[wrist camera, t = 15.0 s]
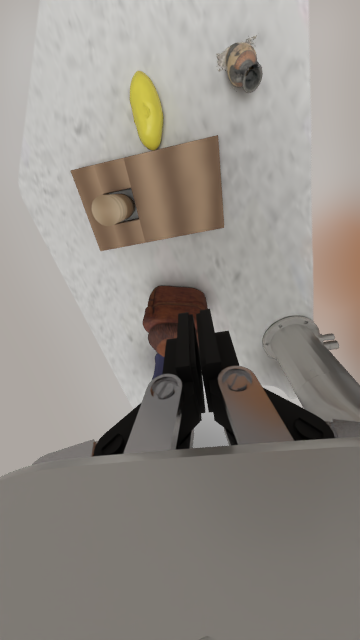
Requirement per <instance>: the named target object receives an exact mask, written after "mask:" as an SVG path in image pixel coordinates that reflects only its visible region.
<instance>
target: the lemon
mask: <svg viewBox="0 0 360 640" xmlns="http://www.w3.org/2000/svg"><path fill="white" fill-rule="evenodd" d="M130 103H131V107H132V112H133V117H134V122H135V124H136V127H137V131H138V135H139V138H140V140H141V142H142V143H143V144H144V146H145V147H147V148H148V149H150V150H156V149H157V148H158V147H159V145H160V142H161V136H162V127H163V112H162V107H161V102H160V99H159V96H158V93H157V91H156V89H155V87H154V85H153V83H152V81H151V80H150V78H149V77H148V76H147V75H146V74H145V73H143V72H142V71H137V72H136V73H135V75H134V76H133V78H132V81H131V86H130Z"/></svg>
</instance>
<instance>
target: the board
mask: <svg viewBox="0 0 360 640" xmlns="http://www.w3.org/2000/svg"><path fill="white" fill-rule="evenodd" d="M71 173H72V176H73V178H74V181H75V184H76V187H77V189H78V192H79V195H80V197H81V200H82V203H83V205H84V208H85V211H86V213H87V216H88V219H89V221H90V224H91V227H92V229H93V232H94V235H95V237H96V240H97V243H98V246H99V248H100V251H104V250H109V249H114V248H120V247H125V246H130V245H135V244H141V243H146V242H151V241H156V240H162V239H167V238H172V237H177V236H183V235H188V234H193V233H198V232H204V231H209V230H214V229H219V228H224V217H223V202H222V187H221V172H220V157H219V142H218V135H217V136H213V137H209V138H205V139H200V140H196V141H192V142H188V143H184V144H179V145H175V146H171V147H167V148H163V149H159V150H154V151H150V152H146V153H142V154H138V155H133V156H129V157H125V158H121V159H117V160H113V161H108V162H104V163H100V164H96V165H92V166H87V167H83V168H79V169H75V170H71ZM130 188H131V189H132V193H133V197H134V201H135V205H136V208H137V212H138V216H139V218H138V219H133V220H128V221H123V222H119V223H117V224H115V225H113V226H104V225H102V224H100V223H99V222H98V221H97V220H96V219H95V218H94V216H93V213H92V203H93V200H94V199H95V198H96V197H98V196H100V195H109V193H112V192H117V191H121V190H126V189H130Z"/></svg>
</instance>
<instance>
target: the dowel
mask: <svg viewBox="0 0 360 640" xmlns="http://www.w3.org/2000/svg"><path fill="white" fill-rule="evenodd" d="M134 210H135V203H134V201H133V200H132V198H130V197H129V196H127V195H125V194H110V195H100V196H98V197H96V198H95V199H94V200H93V203H92V213H93V216H94V218H95V219H96V220H97V221H98V222H99V223H100V224H102V225H104V226H113V225H115V224H117V223H119V222H121V221H123V220H125V219H127V218H129V217H130V216H131V215H132V214H133V212H134Z"/></svg>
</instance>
